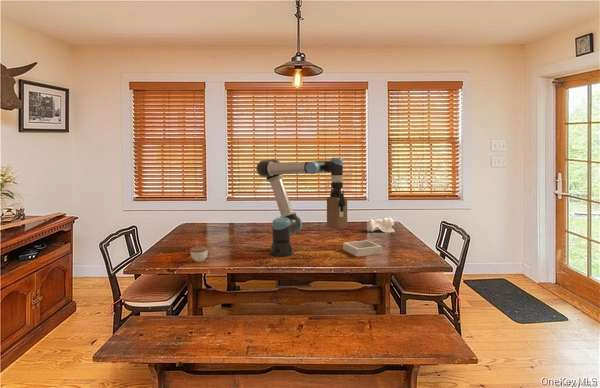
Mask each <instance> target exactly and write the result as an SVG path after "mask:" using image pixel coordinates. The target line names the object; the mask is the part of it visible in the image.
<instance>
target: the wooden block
mask: <svg viewBox="0 0 600 388" xmlns="http://www.w3.org/2000/svg"><path fill="white" fill-rule="evenodd" d="M344 200H345V206H344V207H343V217H339V206H340V205H339V201H340V198H337V197H330V196H328V197H327V198H326V227H327V228H329V229H334V230H341V229H345V228H348V197H347V196H346V197H345V196H344Z"/></svg>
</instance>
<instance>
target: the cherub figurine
mask: <svg viewBox="0 0 600 388" xmlns="http://www.w3.org/2000/svg"><path fill="white" fill-rule="evenodd" d="M368 224H369V229H370V232H371V233H373V232H374V231H375V230H376V229H379V230H380V231H381V232H383V233H386V234H388V233H389V234H390V233H395V232H396V231H395V229H394V228H393V226H394V225H395V220H394V219H393V218H392V217H384V218H383V219H380V218H376V220H374V219H372V218H369V219H368Z"/></svg>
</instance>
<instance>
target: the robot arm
mask: <svg viewBox="0 0 600 388" xmlns="http://www.w3.org/2000/svg"><path fill="white" fill-rule="evenodd" d="M343 169H344V163H343V158H342V157H331V159H330V160H315V161H292V162H289V161H287V162H281V161H280V160H279V159H278V160H277V159H263V160H260V161H258V163H257V165H256V168H255V170H256V173H257V174H258V176H260V177H262V178H265V179H266V181H267V182H269V183H270V187H271V189H272V193H273V196H274V197H275V201H276V204H277V207H278V210H279V213H280V216H279V217H277V218H274V219H273V221H272V224H271V226H272V227H271V228H272V231H271V232H272V243H271V246H270V250H269V254H270V255H271V256H274V257H288V256H292V255H293V253H294V250H293V247H292V243H291V236H292V235H295V234H298V233H299V232H300V230H301V229H302V226H303V223H302V220H301V218H300V217H299V216H298V215H297V213H296V211H294V210H293V207H292V205H291V202H290V199H289V196H288V193H287V191H286V187H285V185H284V182H283V181H284V180H283V177H284V175H297V174H298V175H299V174H300V175H301V174H302V175H303V174H305V175H306V174H308V175H309V174H310V175H315V174H321V173H330V181H331V183H330V187H331V188H330V193H329V194H330V196H329V197H337V198H340V201H339V205H340V206H339V217H343V207H344V206H345V200H344V197H345V196H344V194H345V193H344V190H342V188H343V187H344V183H343V182H344V181H343V180H344V174H343V173H344V171H343Z"/></svg>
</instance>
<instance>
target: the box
mask: <svg viewBox="0 0 600 388" xmlns="http://www.w3.org/2000/svg"><path fill="white" fill-rule="evenodd" d="M342 244H343V245H342V246H343V247H342V249H343V251H344V252H347V253H349V254H350V255H352V256H355V257H357V258H358V257H359V258H360V257H367V256H368V257H369V256H374V255H382V254H383V246H381V245H379V244H378V243H376V242H375V243H374V242H372V241H370V240H368V239H366V240H357V241H348V242H347V241H346V242H342Z"/></svg>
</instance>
